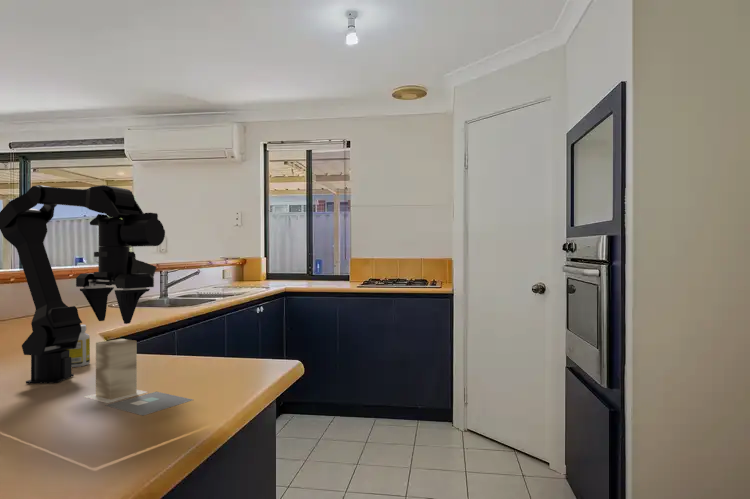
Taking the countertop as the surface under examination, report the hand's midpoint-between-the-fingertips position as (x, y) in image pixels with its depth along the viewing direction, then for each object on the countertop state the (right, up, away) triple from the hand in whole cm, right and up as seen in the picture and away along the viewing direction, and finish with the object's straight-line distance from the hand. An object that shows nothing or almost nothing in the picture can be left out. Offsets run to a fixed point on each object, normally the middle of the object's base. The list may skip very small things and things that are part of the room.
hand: (114, 322), depth 99 cm
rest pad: (+5, -13, -8) cm, 16 cm away
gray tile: (+14, -13, -14) cm, 23 cm away
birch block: (+5, -13, -8) cm, 16 cm away
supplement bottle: (-20, -14, +19) cm, 31 cm away
